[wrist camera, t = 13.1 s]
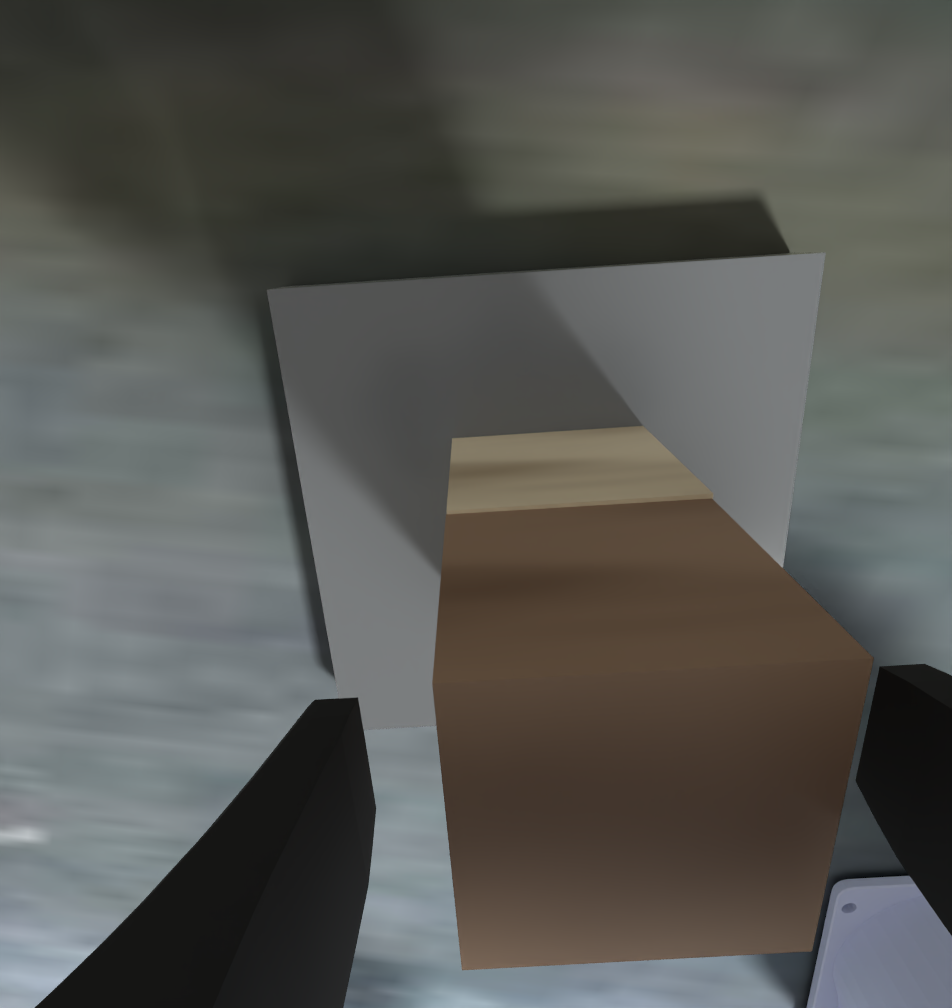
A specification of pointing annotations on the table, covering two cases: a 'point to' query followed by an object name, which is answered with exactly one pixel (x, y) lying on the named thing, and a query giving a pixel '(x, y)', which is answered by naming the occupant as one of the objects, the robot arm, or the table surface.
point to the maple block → (566, 471)
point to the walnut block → (636, 736)
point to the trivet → (522, 416)
